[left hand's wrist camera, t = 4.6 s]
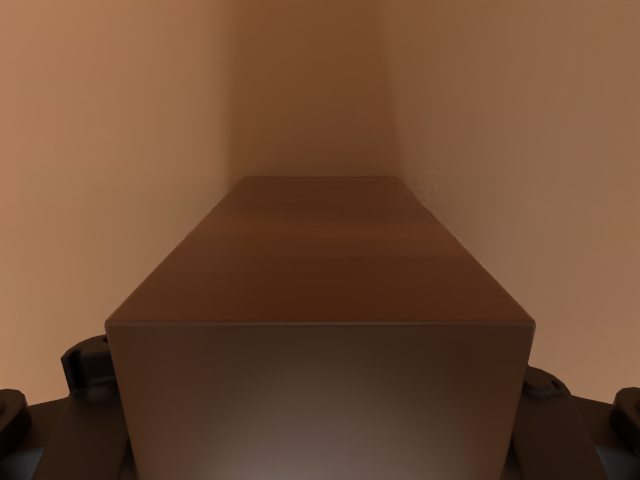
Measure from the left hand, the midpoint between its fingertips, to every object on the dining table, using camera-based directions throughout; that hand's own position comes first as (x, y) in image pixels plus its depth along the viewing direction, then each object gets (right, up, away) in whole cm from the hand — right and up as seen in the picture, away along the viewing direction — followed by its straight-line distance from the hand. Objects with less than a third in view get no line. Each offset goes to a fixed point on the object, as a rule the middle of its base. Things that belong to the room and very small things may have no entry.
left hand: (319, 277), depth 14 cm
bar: (0, -7, +3) cm, 8 cm away
